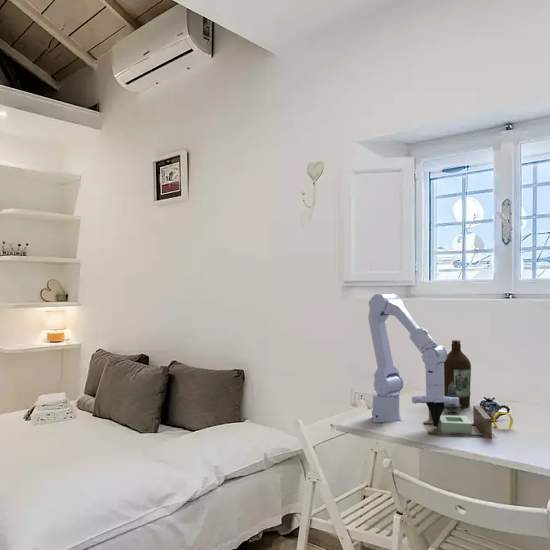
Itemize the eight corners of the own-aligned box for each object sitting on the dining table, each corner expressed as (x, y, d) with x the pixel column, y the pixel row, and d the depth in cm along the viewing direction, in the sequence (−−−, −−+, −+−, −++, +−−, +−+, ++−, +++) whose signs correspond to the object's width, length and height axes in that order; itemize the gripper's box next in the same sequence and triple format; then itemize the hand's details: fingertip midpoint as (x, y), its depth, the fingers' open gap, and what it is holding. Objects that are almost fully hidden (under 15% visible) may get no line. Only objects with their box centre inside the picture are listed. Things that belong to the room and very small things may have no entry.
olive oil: (437, 403, 204) (436, 339, 204) (461, 401, 207) (460, 338, 207) (452, 409, 194) (451, 342, 194) (477, 407, 196) (476, 341, 196)
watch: (510, 428, 170) (511, 410, 170) (513, 431, 168) (514, 412, 168) (491, 427, 171) (492, 409, 171) (494, 429, 168) (495, 411, 168)
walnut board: (428, 438, 160) (428, 416, 160) (422, 423, 176) (422, 404, 176) (497, 440, 157) (496, 418, 157) (484, 425, 173) (484, 405, 173)
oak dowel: (429, 422, 177) (429, 405, 177) (428, 420, 180) (427, 402, 180) (439, 423, 177) (438, 405, 177) (437, 420, 180) (437, 403, 180)
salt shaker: (462, 417, 184) (462, 383, 184) (445, 416, 185) (444, 382, 185) (459, 412, 189) (459, 380, 189) (443, 412, 190) (442, 379, 191)
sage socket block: (442, 433, 163) (441, 422, 163) (437, 425, 172) (437, 415, 172) (472, 434, 162) (471, 423, 162) (466, 426, 170) (465, 415, 171)
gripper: (413, 385, 165) (413, 428, 165) (460, 386, 163) (461, 430, 163) (411, 381, 172) (411, 422, 172) (456, 382, 170) (457, 423, 170)
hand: (435, 425), depth 168 cm, fingers closed
